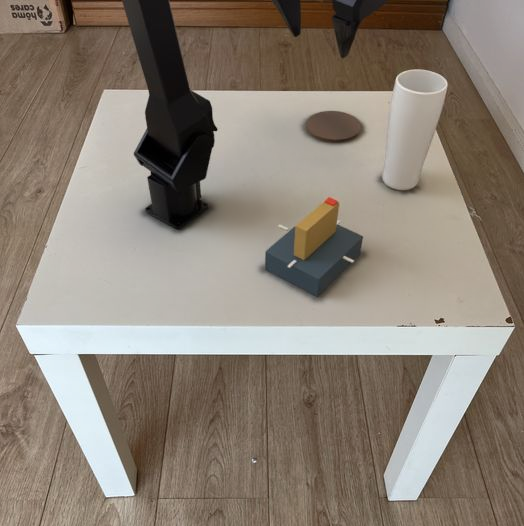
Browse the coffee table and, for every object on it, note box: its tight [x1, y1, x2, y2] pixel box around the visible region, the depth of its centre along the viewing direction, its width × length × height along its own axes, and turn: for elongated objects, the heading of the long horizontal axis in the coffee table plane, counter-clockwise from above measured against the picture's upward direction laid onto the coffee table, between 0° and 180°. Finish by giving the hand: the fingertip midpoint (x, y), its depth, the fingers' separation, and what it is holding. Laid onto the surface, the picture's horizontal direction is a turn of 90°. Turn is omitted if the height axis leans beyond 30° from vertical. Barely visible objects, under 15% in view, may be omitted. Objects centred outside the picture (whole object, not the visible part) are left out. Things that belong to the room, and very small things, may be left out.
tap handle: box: [294, 196, 340, 260], centre depth 71 cm, size 7×2×5 cm, turn 142°
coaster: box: [305, 110, 362, 144], centre depth 96 cm, size 9×9×1 cm
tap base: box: [264, 219, 364, 297], centre depth 74 cm, size 11×11×3 cm
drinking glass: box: [381, 69, 449, 191], centre depth 80 cm, size 7×7×15 cm
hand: (320, 45), depth 82 cm, fingers open, 9 cm apart
